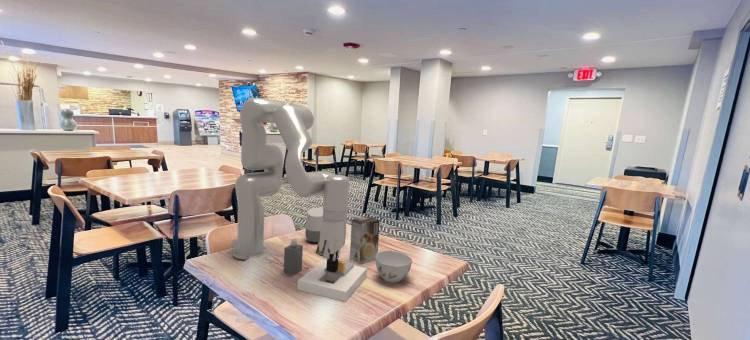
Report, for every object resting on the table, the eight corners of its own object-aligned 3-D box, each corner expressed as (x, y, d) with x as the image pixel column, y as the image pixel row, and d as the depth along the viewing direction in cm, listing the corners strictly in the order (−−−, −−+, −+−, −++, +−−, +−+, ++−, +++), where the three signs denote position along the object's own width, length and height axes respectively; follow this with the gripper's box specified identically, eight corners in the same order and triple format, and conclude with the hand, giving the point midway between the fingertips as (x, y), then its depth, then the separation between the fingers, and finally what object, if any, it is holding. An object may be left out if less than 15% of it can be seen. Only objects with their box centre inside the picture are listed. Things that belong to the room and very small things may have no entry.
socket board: (297, 289, 100) (297, 280, 100) (324, 267, 117) (325, 259, 117) (345, 301, 95) (346, 291, 95) (366, 276, 112) (367, 268, 112)
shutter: (324, 271, 107) (324, 260, 106) (335, 262, 114) (335, 251, 114) (343, 275, 104) (344, 264, 104) (353, 265, 112) (354, 255, 112)
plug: (283, 273, 110) (284, 241, 109) (291, 267, 115) (292, 236, 114) (293, 275, 109) (295, 243, 108) (301, 270, 114) (303, 238, 112)
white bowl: (396, 292, 103) (398, 268, 102) (366, 279, 110) (367, 256, 109) (421, 277, 114) (423, 255, 113) (392, 266, 122) (393, 245, 121)
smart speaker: (303, 243, 139) (304, 211, 137) (307, 236, 148) (308, 206, 146) (325, 244, 139) (326, 212, 138) (328, 237, 148) (329, 207, 147)
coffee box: (367, 254, 132) (369, 215, 130) (377, 260, 127) (380, 220, 125) (348, 259, 126) (351, 218, 124) (359, 265, 121) (361, 223, 119)
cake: (311, 250, 133) (312, 237, 132) (333, 246, 139) (334, 234, 138) (322, 259, 125) (323, 245, 124) (345, 254, 131) (346, 241, 130)
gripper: (334, 208, 110) (331, 260, 112) (312, 218, 96) (309, 278, 98) (355, 211, 107) (352, 264, 110) (335, 222, 93) (332, 283, 96)
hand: (332, 270), depth 104 cm, fingers closed
